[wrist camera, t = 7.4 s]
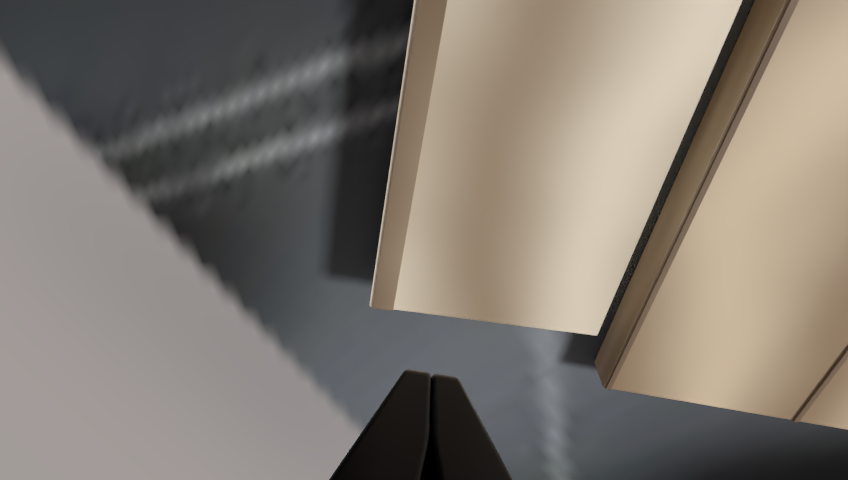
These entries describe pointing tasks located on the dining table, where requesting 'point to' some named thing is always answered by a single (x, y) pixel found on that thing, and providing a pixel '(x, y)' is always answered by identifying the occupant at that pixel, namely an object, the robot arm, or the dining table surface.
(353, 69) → the dining table surface
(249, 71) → the dining table surface
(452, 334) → the dining table surface
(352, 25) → the dining table surface
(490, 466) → the robot arm
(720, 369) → the laid floor
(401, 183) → the plank
